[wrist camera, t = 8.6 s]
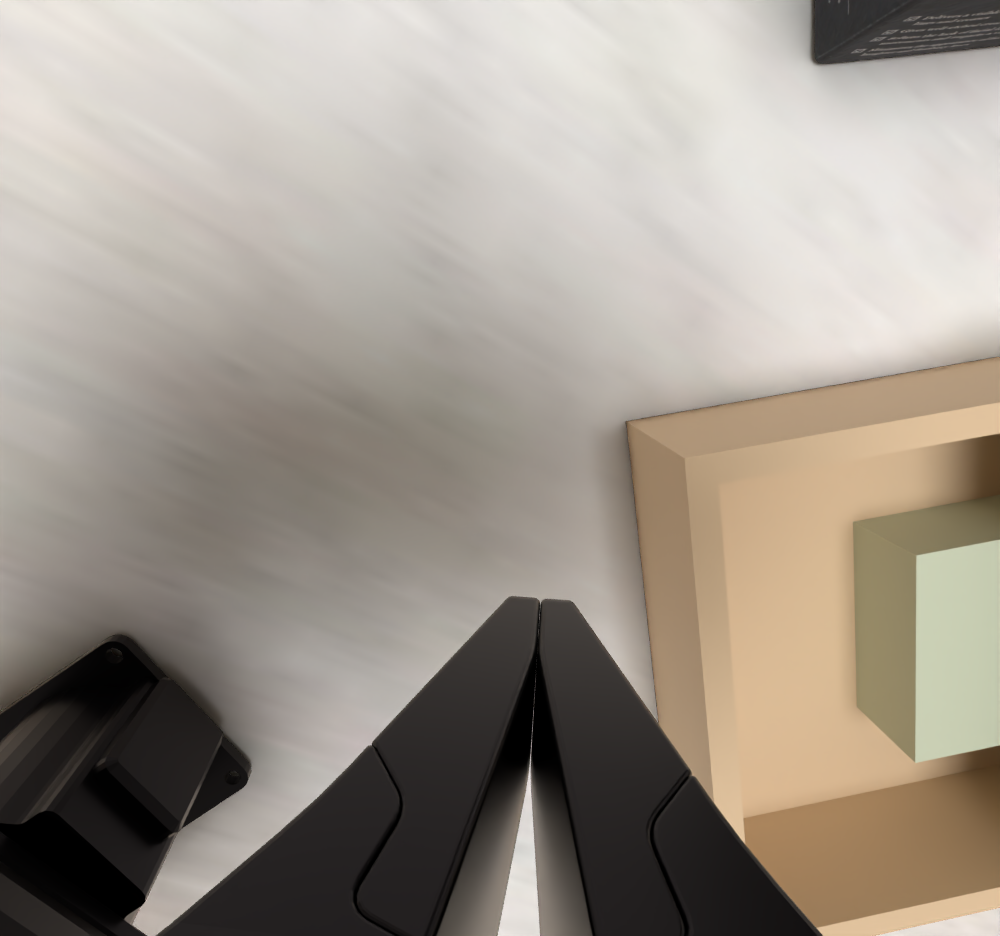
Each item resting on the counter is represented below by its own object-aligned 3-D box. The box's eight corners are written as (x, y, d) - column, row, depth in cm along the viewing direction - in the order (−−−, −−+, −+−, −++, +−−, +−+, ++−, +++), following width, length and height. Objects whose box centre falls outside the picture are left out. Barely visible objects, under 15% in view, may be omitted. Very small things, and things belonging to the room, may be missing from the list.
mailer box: (671, 840, 25) (728, 968, 20) (626, 421, 21) (684, 458, 16) (1169, 734, 26) (1335, 832, 22) (1218, 318, 22) (1435, 324, 18)
